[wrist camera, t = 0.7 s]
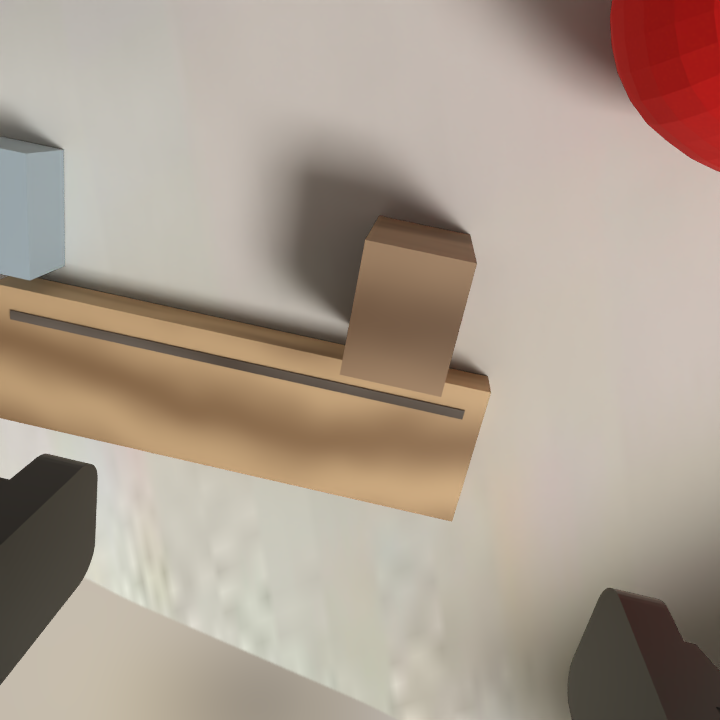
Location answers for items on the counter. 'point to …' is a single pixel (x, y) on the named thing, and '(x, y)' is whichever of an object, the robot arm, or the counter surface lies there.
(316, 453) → the oak board
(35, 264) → the slate stop block
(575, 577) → the counter surface
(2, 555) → the robot arm
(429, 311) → the walnut block
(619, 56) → the tomato
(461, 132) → the counter surface
